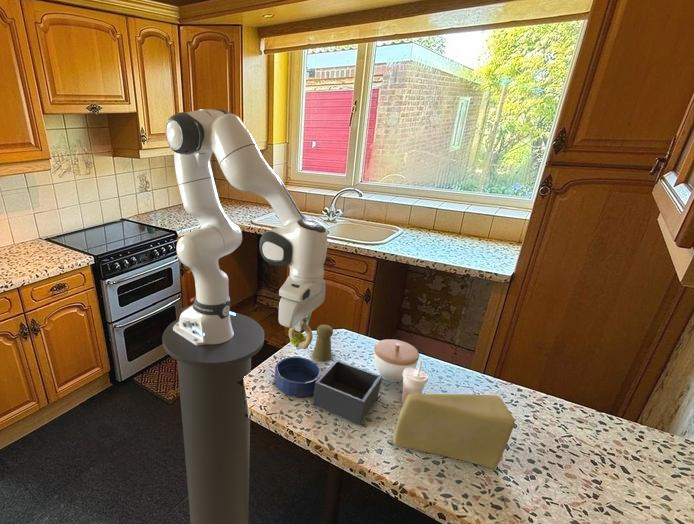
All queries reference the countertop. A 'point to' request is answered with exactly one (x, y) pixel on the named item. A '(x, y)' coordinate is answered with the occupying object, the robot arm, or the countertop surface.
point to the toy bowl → (297, 376)
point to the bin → (347, 391)
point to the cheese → (455, 426)
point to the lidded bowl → (394, 358)
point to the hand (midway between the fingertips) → (301, 327)
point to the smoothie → (413, 381)
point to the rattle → (301, 335)
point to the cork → (323, 343)
